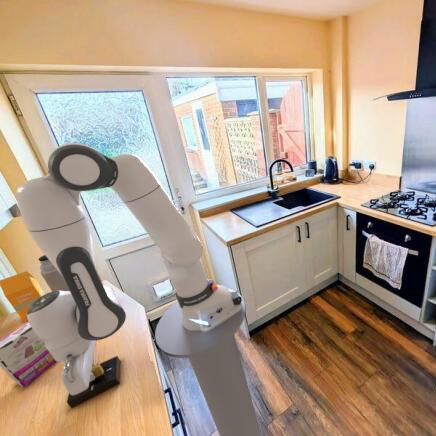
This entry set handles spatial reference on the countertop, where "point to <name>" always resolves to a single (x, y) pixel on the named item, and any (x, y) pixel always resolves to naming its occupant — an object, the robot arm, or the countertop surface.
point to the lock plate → (99, 383)
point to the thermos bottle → (52, 275)
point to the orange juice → (21, 292)
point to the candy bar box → (24, 355)
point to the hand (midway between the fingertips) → (92, 375)
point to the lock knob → (97, 370)
